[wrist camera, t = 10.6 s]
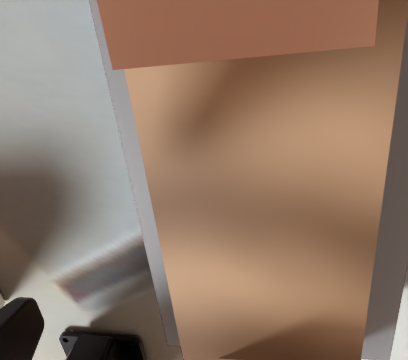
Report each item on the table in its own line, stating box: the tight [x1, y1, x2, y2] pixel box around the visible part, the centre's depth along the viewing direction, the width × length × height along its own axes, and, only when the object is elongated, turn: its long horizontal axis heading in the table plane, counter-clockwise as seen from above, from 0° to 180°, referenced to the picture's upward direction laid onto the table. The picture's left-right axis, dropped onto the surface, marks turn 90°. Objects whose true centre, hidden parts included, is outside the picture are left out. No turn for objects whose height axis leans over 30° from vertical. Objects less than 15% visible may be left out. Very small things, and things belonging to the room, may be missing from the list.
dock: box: [89, 0, 408, 360], centre depth 17 cm, size 23×12×4 cm, turn 6°
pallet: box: [124, 0, 408, 360], centre depth 14 cm, size 21×7×4 cm, turn 6°
